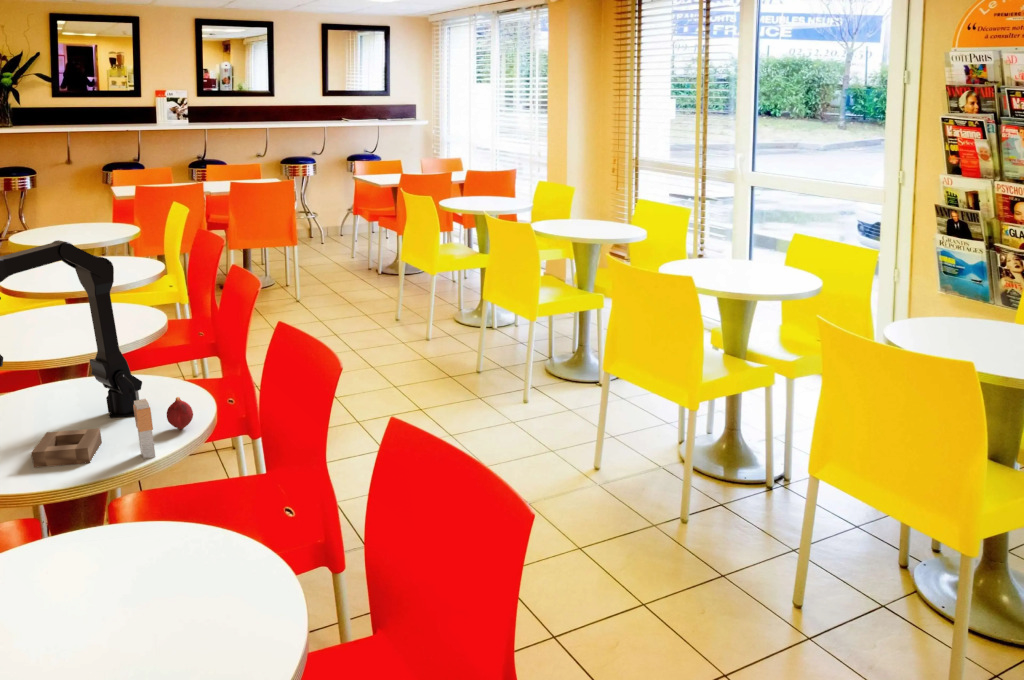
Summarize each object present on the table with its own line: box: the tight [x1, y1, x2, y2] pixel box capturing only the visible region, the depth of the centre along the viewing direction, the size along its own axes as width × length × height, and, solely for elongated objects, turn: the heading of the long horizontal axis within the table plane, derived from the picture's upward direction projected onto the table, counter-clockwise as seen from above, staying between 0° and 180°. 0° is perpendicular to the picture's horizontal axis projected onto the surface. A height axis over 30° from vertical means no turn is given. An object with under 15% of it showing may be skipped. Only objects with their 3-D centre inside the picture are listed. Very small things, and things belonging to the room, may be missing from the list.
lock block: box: [30, 427, 103, 469], centre depth 186 cm, size 11×11×4 cm
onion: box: [166, 396, 194, 430], centre depth 199 cm, size 6×6×8 cm
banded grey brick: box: [133, 398, 156, 460], centre depth 185 cm, size 4×3×12 cm
